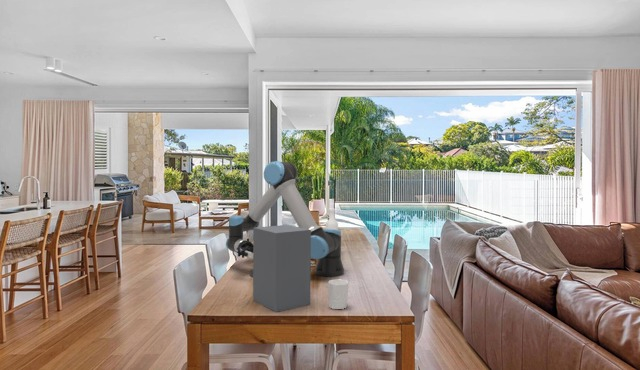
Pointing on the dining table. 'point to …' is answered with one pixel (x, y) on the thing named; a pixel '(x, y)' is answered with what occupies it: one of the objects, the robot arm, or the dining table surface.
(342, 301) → the white cup
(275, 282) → the pedestal
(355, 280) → the dining table surface
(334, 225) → the bottle
